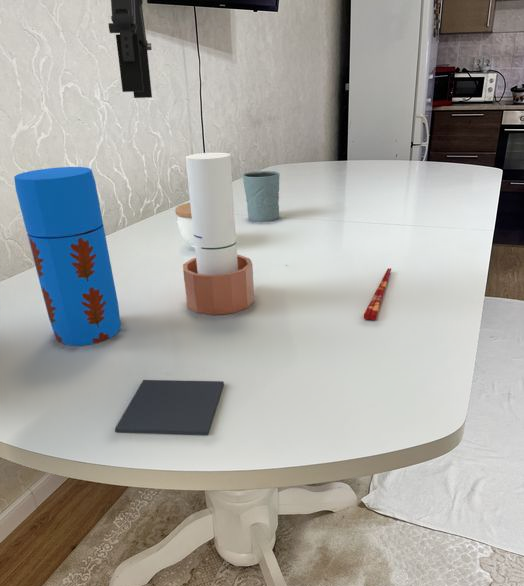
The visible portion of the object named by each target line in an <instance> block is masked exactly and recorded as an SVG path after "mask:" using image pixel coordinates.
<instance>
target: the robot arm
mask: <svg viewBox="0 0 524 586" xmlns="http://www.w3.org/2000/svg"><path fill="white" fill-rule="evenodd" d="M143 2H144V1H143V0H110V9H111V16H110V19H111V22H109V23H108V22H107V23H108V31H109V34H115V41H116V48H117V57H118V64H119V65H118V66H119V74H120V83H121V91H122V93H128V92H129V93H132V92H133V98H134V99H145V98H147V99H149V98H153V94H152V84H151V83H152V81H151V73H150V65H149V64H150V63H149V53H148V51H152V42H151V43H150V42H148V40H147V33H146V27H145V19H144V11H143Z"/></svg>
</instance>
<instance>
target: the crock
mask: <svg viewBox="0 0 524 586" xmlns="http://www.w3.org/2000/svg"><path fill="white" fill-rule="evenodd" d="M237 261H238V271H235V272H231V273H228V274H217V275H206V274H198V271H197V262H196V257H193V258H191V259H189V260H188V261H186V262H184V263H183V264H182V272H183V280H184V288H185V290H184V291H185V296H186V307H187V309H189V310H191V311H192V312H195V313H197V314H201V315H202V314H204V315H210V316H217V315H229V314H234V313H237V312H240V311H243V310H246V309H248V308H249V307H250V306H251V305H252V304H253V303H254V302H255V287H254V269H253V268H254V266H253V263H252V260H251V258H249V257H247V256H244V255H242V254H237Z"/></svg>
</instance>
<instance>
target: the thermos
mask: <svg viewBox="0 0 524 586" xmlns="http://www.w3.org/2000/svg"><path fill="white" fill-rule="evenodd" d="M13 178H14V186H15V192H16V196H17V200H18V204H19V208H20V211H21V215H22V219H23V223H24V227H25V231H26V233H27V234H26V236H27V239H28V243H29V247H30V250H31V254H32V258H33V263H34V266H35V270H36V274H37V278H38V281H39V285H40V288H41V289H40V291H41V294H42V296H43V301H44V305H45V309H46V312H47V316H48V321H49V322H50V326H51V329H52V332H53V334H54V337H55V339H56V342H58V343H60V344H62V345H66V346H73V347H75V346H88V345H93V344H98V343H101V342H104V341H107V340H109V339H111V338H113V337H114V336H116V335H117V334H118V333H119V332H120V331H121V326H122V323H121V316H120V309H119V301H118V297H117V296H118V295H117V291H116V286H115V280H114V279H115V278H114V274H113V268H112V263H111V258H110V252H109V247H108V241H107V237H106V232H105V226H104V220H103V215H102V210H101V205H100V199H99V195H98V194H99V193H98V188H97V184H96V183H97V182H96V179H95V176H94V173H93V170H92V168H90V167H85V166H61V167H60V166H59V167H51V168H50V167H47V168H40V169H33V170H29V171H24V172H21V173H18V174H16V175H14V177H13Z"/></svg>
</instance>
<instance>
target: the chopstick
mask: <svg viewBox="0 0 524 586" xmlns="http://www.w3.org/2000/svg"><path fill="white" fill-rule="evenodd" d="M391 272H392V268H391V267H390V268H389V267H388V268H387V269H386V271H385V273H384V275H383V277H382V279H381V281H380V283H379V284H378V286H377V288H376V290H375V292H374V294H373V295H372V298H371V300H370V302H369V304H368V305H367V307H366V309H365V311H364V313H363V319H364V320H372V321H375V320H377V317H378V313H379V311H380V307H381V304H382V300H383V297H384V294H385V291H386V288H387V285H388V282H389V278H390V274H391Z"/></svg>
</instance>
